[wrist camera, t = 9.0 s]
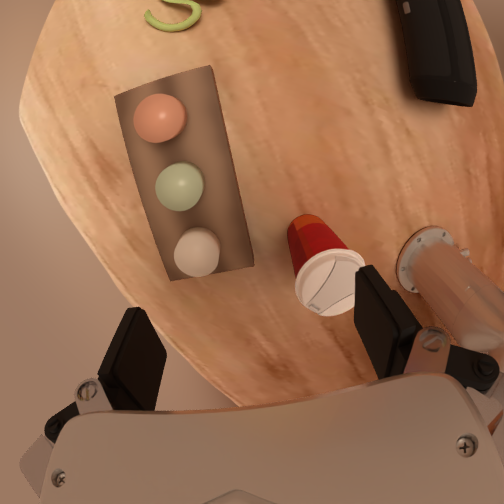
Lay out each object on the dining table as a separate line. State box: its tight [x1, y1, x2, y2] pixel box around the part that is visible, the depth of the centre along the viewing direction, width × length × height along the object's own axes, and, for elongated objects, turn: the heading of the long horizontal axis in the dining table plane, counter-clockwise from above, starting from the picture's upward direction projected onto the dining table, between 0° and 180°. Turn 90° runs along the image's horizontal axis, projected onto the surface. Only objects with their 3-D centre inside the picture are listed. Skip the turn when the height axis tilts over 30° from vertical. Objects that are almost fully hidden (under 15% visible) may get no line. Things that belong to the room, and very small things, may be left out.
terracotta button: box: [133, 94, 187, 143], centre depth 26 cm, size 5×5×3 cm
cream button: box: [174, 227, 220, 277], centre depth 33 cm, size 5×5×3 cm
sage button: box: [155, 161, 205, 211], centre depth 30 cm, size 5×5×3 cm
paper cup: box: [287, 214, 365, 316], centre depth 33 cm, size 8×8×14 cm
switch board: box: [114, 65, 254, 281], centre depth 33 cm, size 12×26×3 cm, turn 11°
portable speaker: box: [396, 0, 477, 107], centre depth 20 cm, size 26×10×10 cm, turn 6°
